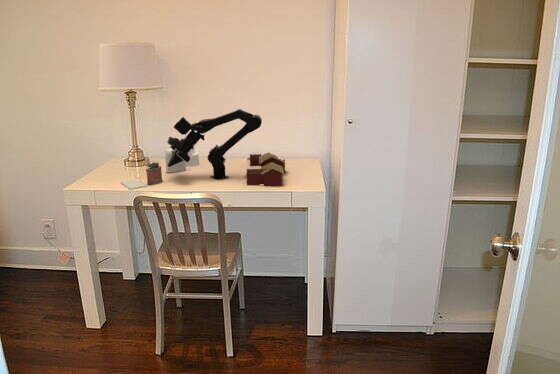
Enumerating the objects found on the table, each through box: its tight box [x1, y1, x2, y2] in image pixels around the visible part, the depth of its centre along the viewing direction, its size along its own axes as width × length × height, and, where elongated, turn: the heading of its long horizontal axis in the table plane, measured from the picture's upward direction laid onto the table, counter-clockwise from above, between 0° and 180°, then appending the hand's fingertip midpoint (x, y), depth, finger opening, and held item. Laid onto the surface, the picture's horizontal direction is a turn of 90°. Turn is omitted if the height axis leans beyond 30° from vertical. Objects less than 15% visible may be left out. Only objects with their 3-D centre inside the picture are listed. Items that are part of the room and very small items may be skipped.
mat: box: [119, 178, 149, 191], centre depth 221 cm, size 14×8×1 cm, turn 36°
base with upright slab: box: [185, 148, 200, 168], centre depth 254 cm, size 9×9×12 cm
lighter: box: [145, 161, 164, 186], centre depth 222 cm, size 8×3×10 cm, turn 141°
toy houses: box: [242, 152, 286, 187], centre depth 237 cm, size 45×20×10 cm, turn 3°
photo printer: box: [164, 147, 187, 174], centre depth 242 cm, size 10×4×12 cm, turn 123°
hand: (168, 166), depth 224 cm, fingers closed
